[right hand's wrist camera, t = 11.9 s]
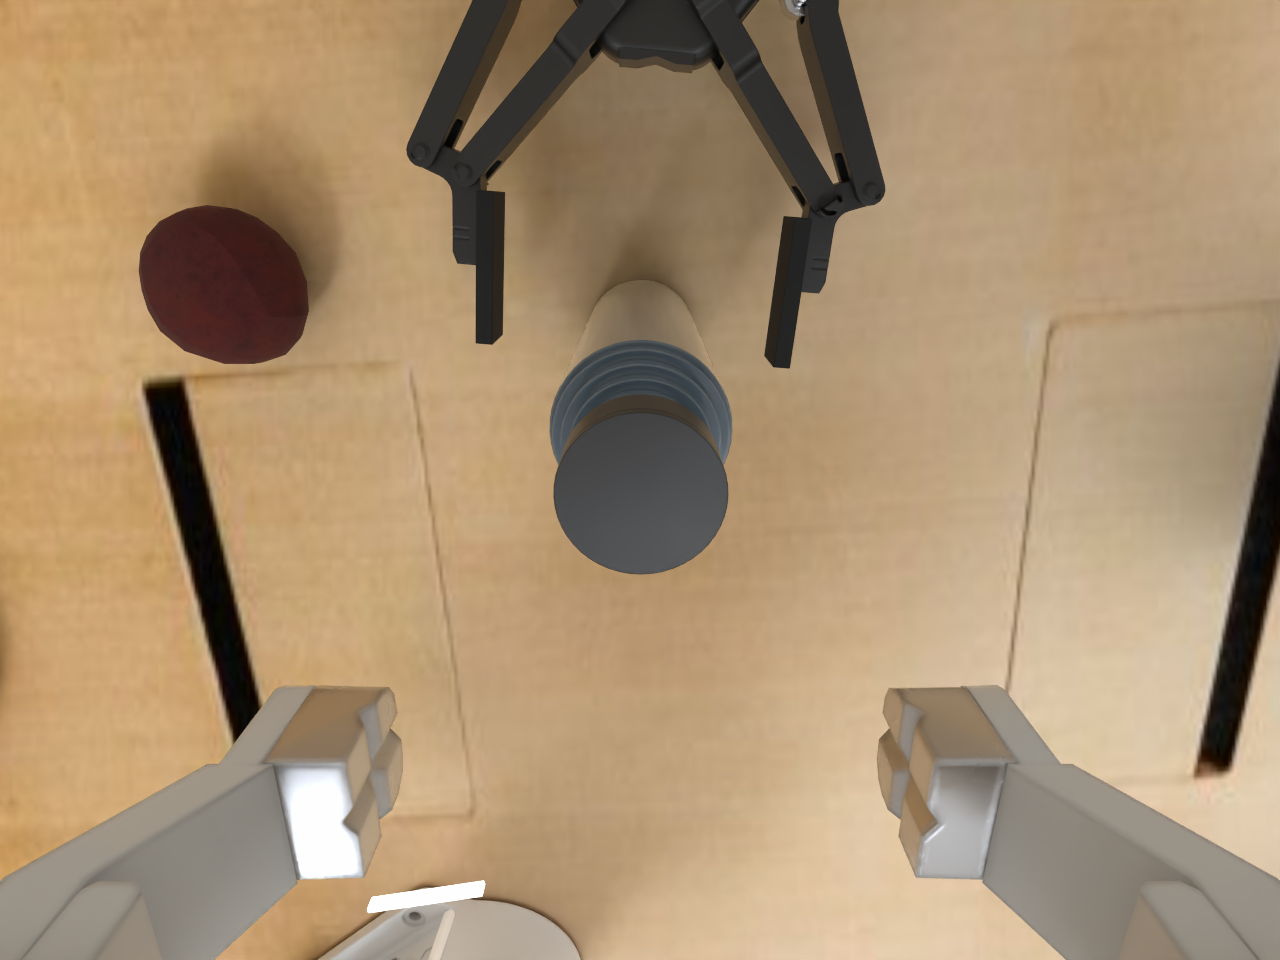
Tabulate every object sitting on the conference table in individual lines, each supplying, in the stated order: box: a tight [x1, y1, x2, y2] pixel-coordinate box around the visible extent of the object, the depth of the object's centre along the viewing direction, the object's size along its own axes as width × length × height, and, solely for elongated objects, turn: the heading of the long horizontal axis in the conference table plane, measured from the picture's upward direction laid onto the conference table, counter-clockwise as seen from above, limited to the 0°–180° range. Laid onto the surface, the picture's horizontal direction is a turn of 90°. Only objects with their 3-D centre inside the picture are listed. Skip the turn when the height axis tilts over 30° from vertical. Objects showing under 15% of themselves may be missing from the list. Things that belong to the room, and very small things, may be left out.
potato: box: [139, 205, 309, 364], centre depth 37 cm, size 7×8×7 cm
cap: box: [554, 394, 728, 574], centre depth 20 cm, size 4×4×2 cm
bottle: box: [550, 280, 732, 465], centre depth 30 cm, size 6×6×24 cm
